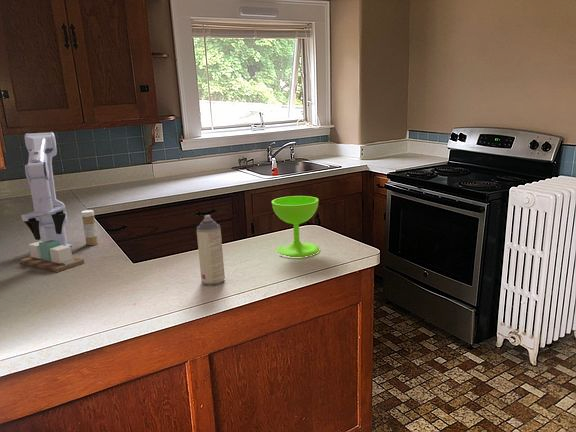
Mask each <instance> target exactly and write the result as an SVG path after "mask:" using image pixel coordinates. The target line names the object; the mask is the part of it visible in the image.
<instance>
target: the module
mask: <svg viewBox="0 0 576 432" xmlns="http://www.w3.org/2000/svg"><path fill="white" fill-rule="evenodd" d="M38 242H39V241H38ZM57 246H60V242H59V240H54V239H49V240H45V241H42V242H39V247H40V253H41V258H42V259H44V260H48V261H51V255H50V248H54V247H57Z"/></svg>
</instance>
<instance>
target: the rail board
mask: <svg viewBox="0 0 576 432" xmlns="http://www.w3.org/2000/svg"><path fill="white" fill-rule="evenodd" d="M72 260H74V263H71V264H68V265H61V264H57V263H53V262H48V261H44V260H40V259H36V258H31V257H30V256H27V257H25V258H22V259H21V258H20V259H19V262H20V264H23V265H27V266H31V267H36V268H39V269H42V270H47V271H52V272H54V273H55V272H56V273H58V272H59V273H60V272H63V271H65V270H67V269H72V268H74V267H77V266H80V265H83V264H84V263H85V259H83V258H78V257H73V256H72Z"/></svg>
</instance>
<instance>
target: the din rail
mask: <svg viewBox="0 0 576 432" xmlns="http://www.w3.org/2000/svg"><path fill="white" fill-rule="evenodd" d="M29 257H31V254H30V255H29ZM31 258H35V257H31ZM36 259H40V260H44V259H42V258H36ZM44 261H48V260H44ZM48 262H52V261H48ZM53 263H56V262H53ZM71 263H74V260H69V261H66V262H63V263H57V264H61V265H68V264H71Z"/></svg>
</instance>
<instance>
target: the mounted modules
mask: <svg viewBox="0 0 576 432" xmlns="http://www.w3.org/2000/svg"><path fill="white" fill-rule="evenodd" d="M39 242H42V241H41V240H38V241H36V242H32V243H30V244H28V247H29V253H30V255H31V257H35V258H41V253H40V247H39ZM71 247H72V246H70V247H69V246H64V245H60V246H57V247H54V248H50V255H51V261H52V262H56V263H63V262H66V261H69V260H72V257H73V254H72V249H71Z"/></svg>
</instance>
